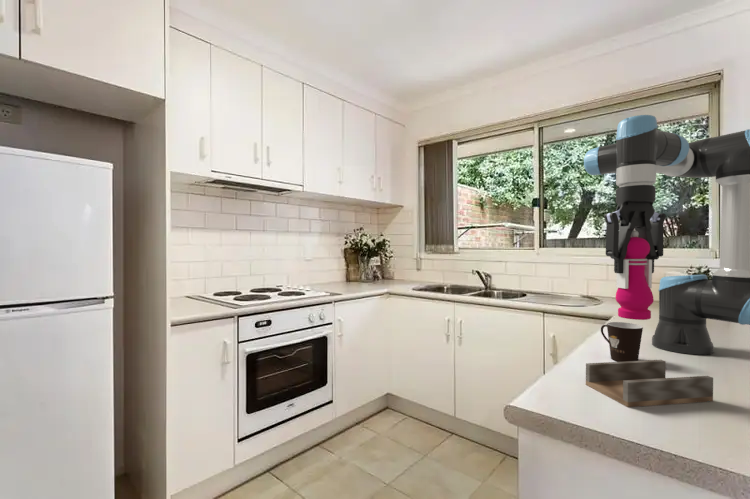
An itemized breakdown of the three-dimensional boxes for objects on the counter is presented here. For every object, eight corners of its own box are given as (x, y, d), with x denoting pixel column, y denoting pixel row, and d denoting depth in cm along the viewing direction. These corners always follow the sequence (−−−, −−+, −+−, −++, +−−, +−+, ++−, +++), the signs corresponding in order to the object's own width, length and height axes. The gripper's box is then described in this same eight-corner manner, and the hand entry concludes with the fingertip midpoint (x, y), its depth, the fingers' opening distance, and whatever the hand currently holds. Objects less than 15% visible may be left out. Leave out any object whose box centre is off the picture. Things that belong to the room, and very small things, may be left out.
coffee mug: (648, 365, 103) (649, 329, 103) (613, 363, 105) (614, 327, 104) (629, 353, 114) (629, 320, 114) (597, 352, 116) (598, 319, 116)
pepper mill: (620, 313, 93) (620, 230, 92) (656, 317, 87) (656, 229, 87) (611, 317, 88) (611, 230, 87) (649, 321, 82) (649, 229, 82)
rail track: (660, 380, 92) (661, 359, 92) (712, 401, 80) (713, 377, 80) (585, 384, 90) (585, 363, 89) (627, 407, 77) (627, 382, 77)
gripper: (657, 189, 92) (655, 285, 92) (587, 187, 90) (586, 286, 90) (686, 184, 84) (684, 289, 85) (610, 182, 82) (609, 290, 83)
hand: (633, 287), depth 87 cm, fingers closed on pepper mill, 5 cm apart
